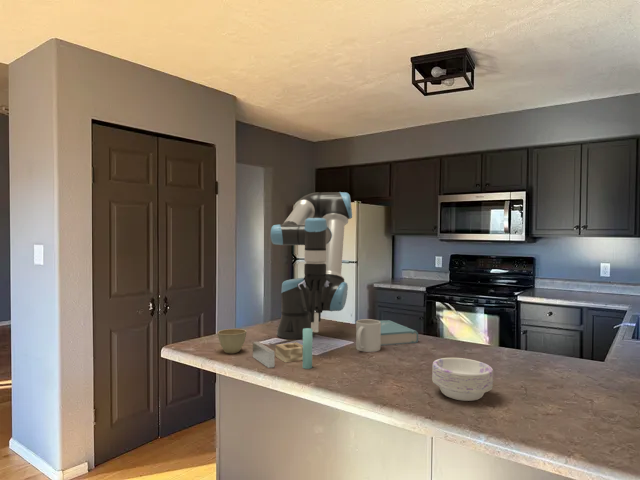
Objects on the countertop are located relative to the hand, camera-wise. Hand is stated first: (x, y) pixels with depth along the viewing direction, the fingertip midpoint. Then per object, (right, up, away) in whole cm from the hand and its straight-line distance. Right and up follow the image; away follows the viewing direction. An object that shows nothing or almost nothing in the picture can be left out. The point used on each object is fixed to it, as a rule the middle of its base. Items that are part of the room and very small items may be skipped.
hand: (314, 331), depth 157 cm
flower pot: (-29, -8, +4) cm, 31 cm away
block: (-8, -8, -4) cm, 12 cm away
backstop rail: (-17, -8, -8) cm, 20 cm away
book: (+29, -9, +27) cm, 41 cm away
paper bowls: (+39, -9, -37) cm, 55 cm away
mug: (+19, -8, +8) cm, 22 cm away
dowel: (-2, -8, -14) cm, 17 cm away
